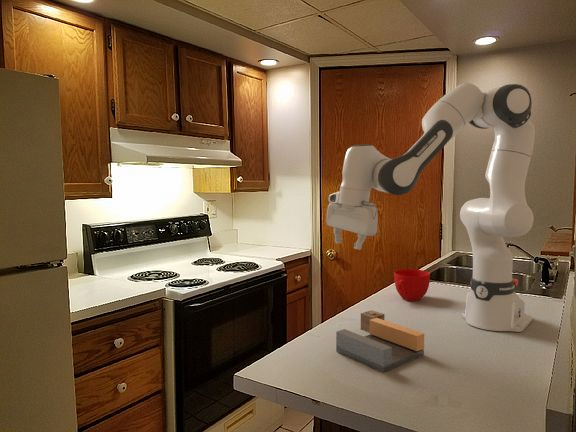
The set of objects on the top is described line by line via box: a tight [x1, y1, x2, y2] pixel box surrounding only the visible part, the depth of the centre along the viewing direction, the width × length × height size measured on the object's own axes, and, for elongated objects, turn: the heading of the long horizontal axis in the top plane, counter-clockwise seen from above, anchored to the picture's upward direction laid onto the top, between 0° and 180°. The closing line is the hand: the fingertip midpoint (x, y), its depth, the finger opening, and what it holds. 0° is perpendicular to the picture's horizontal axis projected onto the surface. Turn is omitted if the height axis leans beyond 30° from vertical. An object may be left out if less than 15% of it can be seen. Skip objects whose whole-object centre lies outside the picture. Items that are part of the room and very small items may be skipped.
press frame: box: [335, 328, 425, 374], centre depth 113 cm, size 16×16×6 cm
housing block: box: [360, 309, 385, 333], centre depth 131 cm, size 5×5×5 cm
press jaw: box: [368, 318, 425, 351], centre depth 117 cm, size 3×16×4 cm, turn 38°
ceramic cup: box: [393, 268, 431, 302], centre depth 161 cm, size 13×17×10 cm
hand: (347, 245), depth 128 cm, fingers open, 8 cm apart
